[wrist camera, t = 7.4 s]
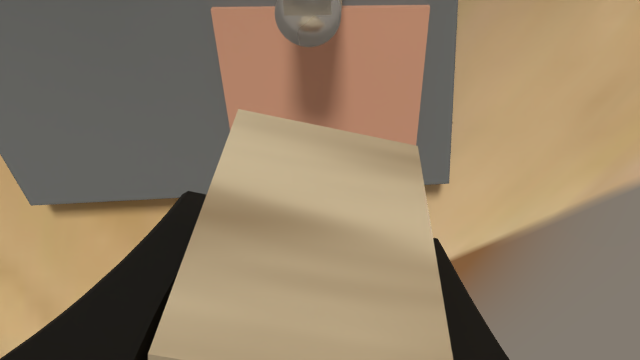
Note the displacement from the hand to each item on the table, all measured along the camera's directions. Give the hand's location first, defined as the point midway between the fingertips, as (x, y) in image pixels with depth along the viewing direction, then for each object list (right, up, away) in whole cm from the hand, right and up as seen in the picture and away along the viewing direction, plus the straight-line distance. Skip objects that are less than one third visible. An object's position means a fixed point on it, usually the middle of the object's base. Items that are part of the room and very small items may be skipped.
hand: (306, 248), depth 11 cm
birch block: (0, +1, +1) cm, 2 cm away
